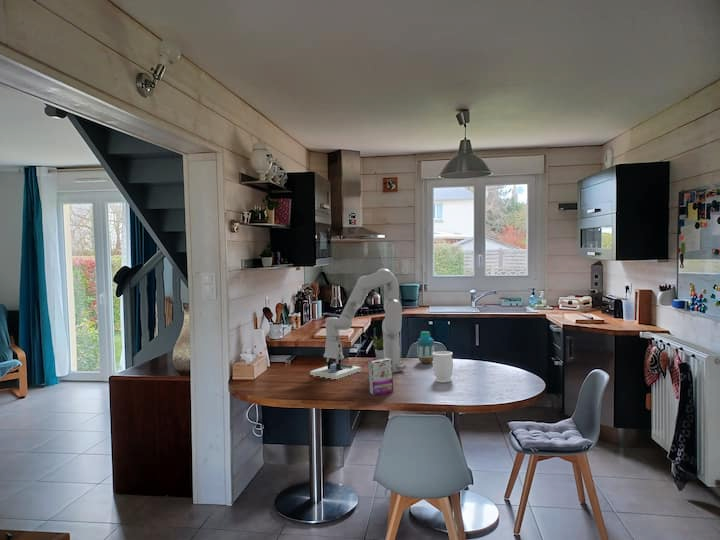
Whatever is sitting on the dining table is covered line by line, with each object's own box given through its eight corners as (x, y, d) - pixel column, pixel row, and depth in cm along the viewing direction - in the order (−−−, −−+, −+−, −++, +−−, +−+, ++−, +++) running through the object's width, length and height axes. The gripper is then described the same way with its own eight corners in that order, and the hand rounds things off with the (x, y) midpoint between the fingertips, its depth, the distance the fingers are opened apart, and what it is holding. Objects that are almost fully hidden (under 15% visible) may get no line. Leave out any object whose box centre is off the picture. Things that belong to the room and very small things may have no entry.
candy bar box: (389, 389, 251) (387, 357, 250) (393, 392, 246) (392, 359, 246) (369, 393, 246) (367, 360, 246) (373, 395, 242) (371, 362, 241)
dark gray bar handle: (352, 367, 290) (352, 365, 290) (350, 368, 289) (350, 365, 289) (335, 365, 299) (335, 362, 299) (333, 365, 298) (333, 363, 298)
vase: (416, 361, 310) (414, 331, 309) (432, 360, 311) (431, 330, 310) (420, 365, 299) (418, 333, 298) (437, 364, 300) (435, 332, 300)
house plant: (365, 361, 317) (363, 335, 317) (370, 356, 330) (369, 332, 330) (386, 361, 313) (385, 336, 312) (391, 356, 326) (390, 332, 326)
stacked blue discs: (340, 373, 288) (340, 364, 288) (335, 375, 284) (334, 366, 284) (334, 372, 292) (333, 363, 291) (328, 374, 288) (328, 365, 287)
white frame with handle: (361, 371, 291) (360, 367, 291) (336, 379, 274) (336, 375, 274) (335, 367, 304) (335, 363, 304) (310, 375, 287) (310, 371, 287)
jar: (431, 382, 260) (430, 354, 259) (435, 377, 269) (434, 350, 269) (451, 383, 256) (450, 355, 256) (455, 378, 266) (454, 351, 265)
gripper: (348, 338, 285) (349, 369, 285) (326, 336, 295) (327, 366, 296) (339, 340, 279) (341, 372, 280) (317, 338, 290) (319, 369, 290)
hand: (334, 369), depth 288 cm, fingers open, 6 cm apart
